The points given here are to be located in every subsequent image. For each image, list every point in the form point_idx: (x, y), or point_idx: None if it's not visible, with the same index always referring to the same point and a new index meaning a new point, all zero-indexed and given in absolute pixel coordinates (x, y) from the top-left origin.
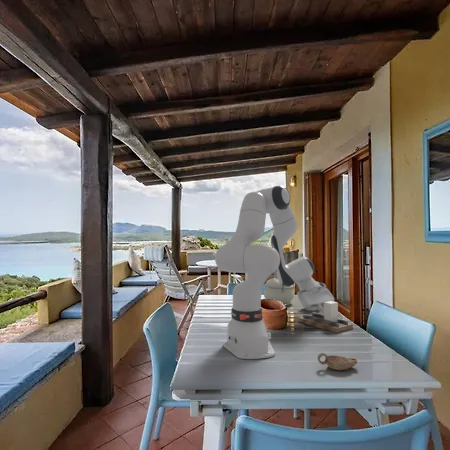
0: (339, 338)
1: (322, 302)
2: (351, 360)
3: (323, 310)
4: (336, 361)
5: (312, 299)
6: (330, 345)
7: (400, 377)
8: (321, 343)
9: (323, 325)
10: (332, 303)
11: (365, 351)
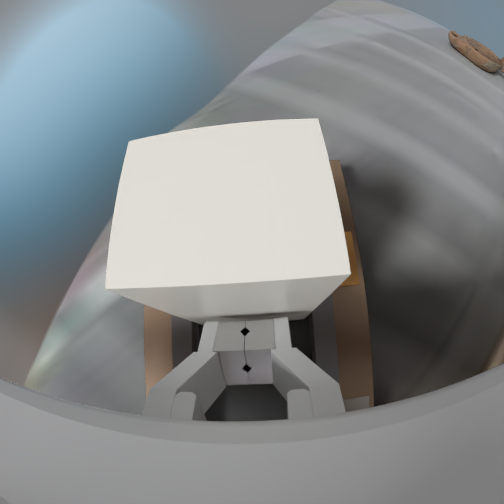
0: (379, 124)
1: (231, 421)
2: (461, 36)
3: (290, 339)
4: (484, 56)
5: (490, 456)
6: (452, 111)
7: (393, 8)
8: (473, 138)
9: (359, 267)
10: (276, 120)
11: (374, 45)
